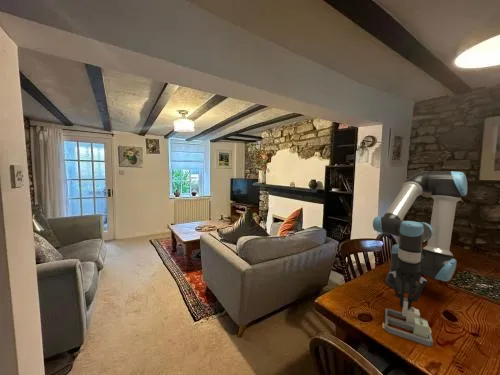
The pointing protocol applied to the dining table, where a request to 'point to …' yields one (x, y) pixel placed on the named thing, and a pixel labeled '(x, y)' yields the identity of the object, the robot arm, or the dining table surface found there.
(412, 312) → the ivory tab
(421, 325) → the sage tab
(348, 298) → the dining table surface
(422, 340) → the switch bank
